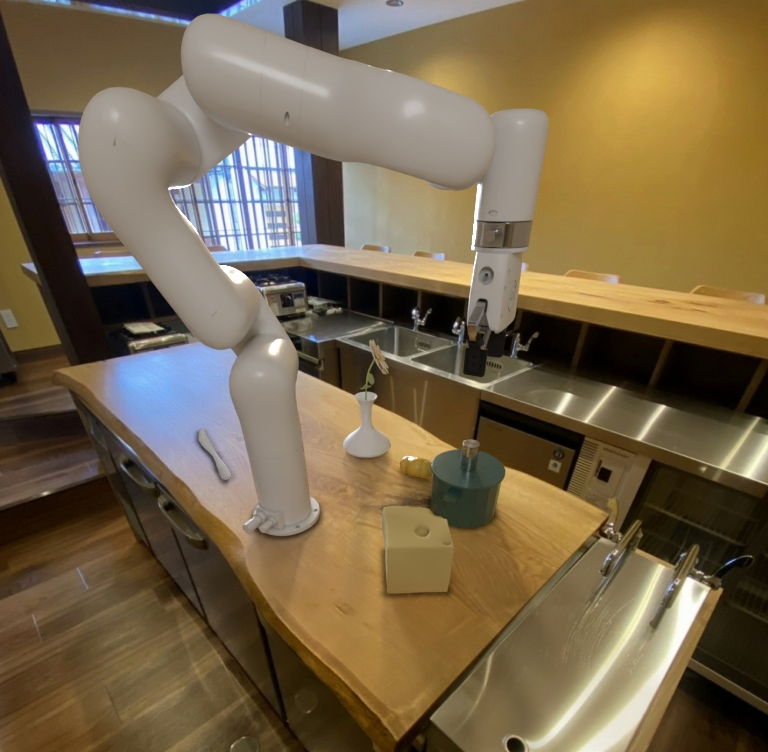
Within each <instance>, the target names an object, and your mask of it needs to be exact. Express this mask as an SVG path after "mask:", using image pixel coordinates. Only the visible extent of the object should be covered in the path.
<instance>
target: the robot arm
mask: <svg viewBox="0 0 768 752" xmlns="http://www.w3.org/2000/svg"><path fill="white" fill-rule="evenodd" d="M180 63H181V64H180V65H181V70H182V75H181V76H179V78H177V79H176V80H175V81H174V82H172V83H171V84H170V85H169V86H168V87H167V88H166V89H165V90H164V91H162V92H161V93H159V95H157V97H156V96H153V95H151V94H148V93H146V92H143V91H141V90H138V89H136V88H131V87H124V86H113V87H108V88H105V89H102V90H100V91H98V92H97V93H96V94H95V95H93V96H92V97H91V98H90V100H89V101H88V102H87V104H86V106H85V108H84V110H83V113H82V115H81V118H80V121H79V122H80V123H79V127H78V134H77V135H78V136H77V152H78V160H79V161H78V162H79V167H80V171H81V175H82V178H83V182H84V184H85V186H86V189H87V191H88V194H89V196H90V198H91V200H92V202H93V204H94V206H95V207H96V209H97V211H98V212H99V214H100V215H101V216H102V218H103V220H104V221H105V223H106V225H108V227H109V228H110V230H111V231H112V232H113V233H114V234H115V236H116V238H117V239H118V240H119V241H120V242H121V244H122V245H123V246H124V247H125V249H126V250H127V251H128V252H129V254H130V255H131V256H132V257H133V258H134V260H135V261H136V262H137V263H138V265H139V266H140V267H141V269H142V270H143V271H144V273H145V274H146V276H147V277H148V278H149V280H150V281H151V283H152V284H153V285H154V286H155V288H156V289H157V290H158V291H159V293H160V295H161V296H162V297H163V298H164V299H165V301H166V302H167V303H168V304H169V306H170V307H171V308H172V309H173V311H174V312H175V314H176V315H177V316H178V318H179V319H180V320H181V322H182V323H183V324H184V326H185V327H186V328H187V329H188V331H189V332H190V333H191V334H192V336H193V337H194V338H195V339H196V340H197V341H198V342H200V343H201V344H203V345H204V346H205V347H207V348H209V349H211V350H216V351H224V350H225V351H226V350H230V349H231V350H232V352H233V353H234V355H235V356H236V358H235V360H234V361H233V364H232V366H231V368H230V373H229V377H228V378H229V379H228V389H229V395H230V399H231V402H232V405H233V408H234V411H235V413H236V416H237V418H238V422H239V424H240V428H241V433H242V436H243V440H244V445H245V449H246V452H247V458H248V461H249V466H250V470H251V474H252V475H251V476H252V480H253V483H254V488H255V493H256V499H257V502H258V503H257V504H256V505H254V508H255V509H254V510H253V514H252V518H251V519H249V520H247V521H246V522H245V523H244V524H242V527H241V528H242V530H243V531H244V533H246V534H247V535H250V534H252V532H254V531H255V530H256V529H258V530H259V531H260V532H261V533H262V534H267V535H270V536H275V537H288V536H293V535H297V534H300V533H303V532H305V531H307V530H308V529H310V528H311V527H313V526H314V525H315V524H316V523H317V521H318V520H319V518H320V515H321V509H320V508H321V507H320V505H319V502H318V501H317V500H316V499H315V498H314V497H313V496H311V492H310V486H309V485H310V484H309V478H308V470H307V461H306V454H305V446H304V440H303V432H302V426H301V425H302V424H301V419H300V414H299V409H298V403H297V393H296V391H297V390H296V387H297V386H296V384H297V381H298V373H299V367H300V361H299V354H298V351H297V349H296V347H295V345H294V343H293V342H292V340H291V338H290V337H289V335H288V333H287V332H286V330H285V329H284V327H283V325H282V324H281V322H280V321H279V319H278V318H277V316H276V314H275V313H274V312H273V310H272V307H270V305H269V304H268V302H267V300H266V299H265V298H264V295H262V293H261V291H260V290H259V288H258V287H257V286H256V285H255V283H254V282H253V281H252V280H251V279H250V278H249V276H247V275H246V274H245V273H243V272H242V271H241V270H239V269H237V268H234V267H232V266H228V265H220V263H219V262H218V261H217V260H216V258H215V257H214V255H213V253H211V251H210V249H209V248H208V246H207V245H206V243H205V241H204V240H203V238H202V236H201V235H200V234H199V232H198V231H197V229H196V228H195V227H194V225H193V224H192V223H191V222H190V221H189V219H188V218H187V217H186V215H184V213H183V212H182V211H181V210H180V209H179V207H178V206H177V205H176V203H175V201H174V199H173V197H172V195H171V192H170V190H172V189H174V190H176V189H177V190H178V189H183V188H187V187H189V186H191V185H192V184H194V183H196V182H198V181H199V180H200V179H202V178H203V177H204V176H205V175H207V174H208V173H209V172H210V171H212V170H213V169H214V168H215V167H216V166H218V165H219V164H220V163H222V162H223V161H224V160H225V159H227V158H228V157H230V155H232V154H233V153H234V152H236V151H237V150H238V149H239V148H240V147H242V146H243V145H244V144H245V143H246V142H247V141H248V140H249V139H251V138H252V137H253V136H254V137H257V138H261V139H264V140H268V141H271V142H274V143H277V144H281V145H284V146H287V147H291V148H294V149H296V150H300V151H303V152H306V153H309V154H312V155H315V156H317V157H318V156H319V157H321V158H324V159H328V160H332V161H336V162H341V163H357V164H358V163H359V164H365V165H369V166H370V165H371V166H375V167H379V168H382V169H386V170H390V171H393V172H396V173H399V174H403V175H407V176H410V177H413V178H416V179H418V180H422V181H424V182H425V183H427V184H428V185H429V186H430V187H432V188H434V189H437V190H441V191H455V192H457V191H458V192H459V191H465V190H467V189H470V188H472V187H474V186H477V187H476V189H477V190H476V198H475V209H474V218H473V219H474V221H473V229H472V239H471V247H470V248H471V251H475V252H476V253H475V258H474V264H473V270H472V277H471V283H470V289H469V295H468V296H469V297H468V306H467V316H466V326H467V333H466V336H465V337H466V341H465V351H464V360H463V370H462V374H464V375H465V376H472V377H477V378H483V377H484V376H485V374H486V368H487V362H488V357H490V358H497V359H501V358H502V357H503V356H504V349H505V345H506V344H505V343H506V337H507V330H508V326H510V324H512V322H513V321H514V320H515V318H516V313H517V306H518V298H519V292H520V284H521V276H522V267H523V253H525V252H528V251H529V247H530V246H529V245H530V239H531V235H532V234H531V233H532V229H533V228H532V227H533V224H534V223H533V222H534V218H535V217H534V216H535V211H536V205H537V199H538V194H539V190H540V189H539V188H540V182H541V177H542V171H543V164H544V158H545V155H546V154H545V153H546V147H547V142H548V135H549V129H550V123H549V117H548V114H547V113H546V112H545V111H543V110H541V109H536V108H527V107H526V108H522V107H521V108H509V109H501V110H498V111H494V112H493V113H492V114H490V113H489V112H488V111H487V109H486V107H484V106H483V105H481V103H479V102H478V101H477V100H475V99H474V98H471V97H468V96H466V95H464V94H461V93H459V92H456V91H455V90H454V91H453V90H450V89H448V88H446V87H443V86H440V85H437V84H434V83H431V82H429V81H426V80H423V79H420V78H418V77H414V76H411V75H408V74H404V73H401V72H397V71H393V70H390V69H386V68H385V69H384V68H382V67H381V68H380V67H376V66H372V65H369V64H366V63H364V62H360V61H357V60H354V59H348V58H345V57H340V56H338V55H335V54H332V53H329V52H326V51H324V50H321V49H317V48H315V47H312V46H308V45H306V44H303V43H300V42H297V41H295V40H293V39H289V38H288V37H284V36H281V35H279V34H276V33H273V32H271V31H269V30H266V29H263V28H261V27H258V26H254V25H252V24H250V23H246V22H244V21H242V20H238V19H235V18H233V17H229V16H225V15H222V14H219V13H204V14H200V15H198V16H196V17H195V18H194V19H192V20H191V21H190V22H189V23H188V25H187V26H186V28H185V30H184V32H183V36H182V40H181V46H180ZM482 334H483V335H482Z"/></svg>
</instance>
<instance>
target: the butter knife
mask: <svg viewBox="0 0 768 752" xmlns="http://www.w3.org/2000/svg"><path fill="white" fill-rule="evenodd" d="M198 442H199V443H200V445H201V446H202V448H203V449H205V450H206V451H207V452H208V453H209V454H210V455H211V457H212V458H213V460H214V463H215V466H216V469H217V471H218V474H219V476H220V477H221V479H222V480H224V481H225V480H230V479H231V478H232V473H231V471H230V469H229V468H228V466H227V465H226V463H225V462H224V461H223V459H221V457H220V456H219V454H218V453H217V451H216V449H215V447H214V445H213V443H212V441H211V439H210V438H209V436H208V435H207V433H206V431H205V429H203V428H202V429H199V430H198Z"/></svg>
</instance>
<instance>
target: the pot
mask: <svg viewBox="0 0 768 752" xmlns="http://www.w3.org/2000/svg"><path fill="white" fill-rule="evenodd" d="M480 451H481V450H480ZM481 452H484V453H487V454H489V452H486V451H481ZM431 480H432V481H431V490H430V491H431V492H430V505H429V506H430V507H429V508H430V510H431V512H432V513H433V514H434V515H436V516H440V517H442V518H443V519H447V521H448V526H449V527H450V526H451V527H454V528H459V529H474V528H479V527H483V526H484V525H487V524H488V523H490V522H491V521H492V519H493V518H494V516H495V513H496V509H497V505H498V500H499V495H500V492H501V491H500V490H501V485H502V482H501V483H500V484H498V485H496V486H494V487H492V488H489V489H484V490H463V489H458V488H454V487H451V486H449V485H446V484H444V483H443V482H441V481H439V480H438V479H437V478H436V477H435V476H434V474H433V475H432V479H431Z"/></svg>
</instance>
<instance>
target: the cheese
mask: <svg viewBox="0 0 768 752" xmlns="http://www.w3.org/2000/svg"><path fill="white" fill-rule="evenodd" d="M382 508H383V509H382V517H381V527H382V528H381V529H382V536H383V542H384V547H385V548H384V549H385V550H384V551H385V552H384V554H385V556H384V559H385V560H384V561H385V562H384V563H385V564H384V565H385V578H386V593H387V594H391V595H392V594H393V595H394V594H415V593H447V592H448V591H449V586H450V581H451V574H452V566H453V561H454V553H455V546H454V541H453V537H452V534H451V533H452V532H451V531H450V525H448V521H447V519H443V518H442V517H440V516H436V515H434V514H433V513H432V511H431V509H429V508H427V507H419V506H418V507H416V506H415V507H413V506H405V505H404V506H403V505H402V506H401V505H390V506H384V507H382Z"/></svg>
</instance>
